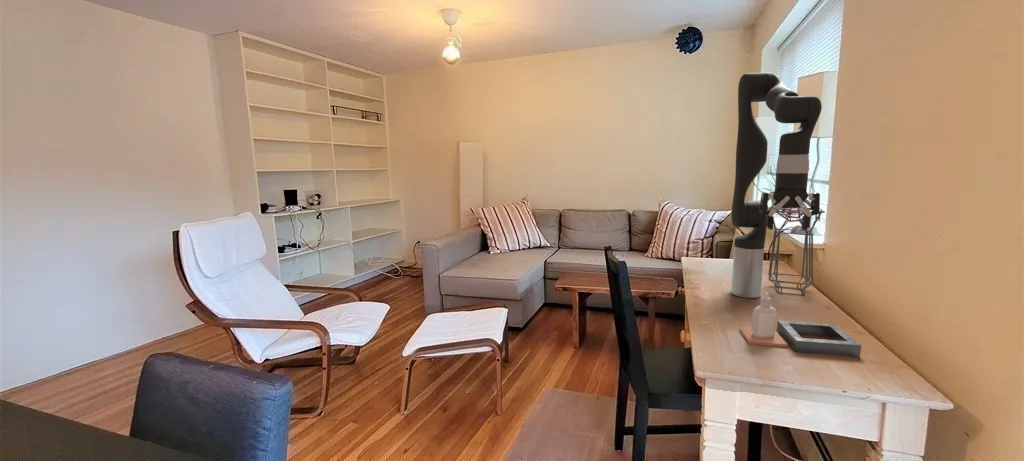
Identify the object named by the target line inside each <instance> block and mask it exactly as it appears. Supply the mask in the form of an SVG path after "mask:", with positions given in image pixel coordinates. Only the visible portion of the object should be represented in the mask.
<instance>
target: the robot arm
mask: <svg viewBox="0 0 1024 461" xmlns="http://www.w3.org/2000/svg"><path fill="white" fill-rule="evenodd" d="M757 102H758V103H759V102H760V103H762V102H763V103H764V102H765V104H766V107H767V108H768V109H769V110H770V111H772V112H773V113H774V118H775V121H777V123H781V124H800V125H799V127H798V128H797V129H796V130H794V131H791V132H785V133H783V134H781V135H780V139H779V147H778V157H777V162H776V169H775V179H774V180H775V184H774V191H773V193H772V192H765V191H763V192H761V196H760V200H746V199H745V198H746V195H747V192H748V190H749V187H750V186H751V184H752V183H753V181H754V180H755V179H756V177H757V176H758V175H759V174H760V172H761V170H762V169H763V168H764V167H765V165H766V162H767V161H768V160H767V159H768V158H767V157H768V139H767V137H766V135H765V133H764V131H763V129H761V127H760V126H759V124H758V122H757V121H756V119H755V116H754V114H753V109H752V103H757ZM737 103H738V104H737V110H738V112H737V113H738V125H737V135H736V136H737V140H736V149H735V175H734V176H735V177H734V190H733V198H732V204H731V205H732V206H731V219H730V220H731V224H732V225H733V227H735V228H753V229H752V230H751V231H750V232H748V233H746V234H742V235H740V236H739V235H738V236H736V237H735V238H734V241H733V242H734V243H733V244H734V245H733V260H732V273H731V274H732V275H731V288H730V292H731V294H732V295H734V296H737V297H740V298H746V299H755V298H759V297H760V298H761V293H762V292H761V291H762V279H763V270H764V256H765V255H764V254H765V245H766V236H767V229H768V230H772V231H774V230H773V229H774V225H773V221H774V222H775V219H774V218H775V217H774V215H775V214H777V213H776V212H777V211H778V210H780V208H781V207H782V208H784V209H790V208H792V209H797V208H798V209H799V210H800V211H801V212H800V213H803V215H802V216H801V219H802V225H801V230H808V229H810V226H811V218H812V216H813V217H814V216H815V215H817V216H818V215H819V211H820V209H821V207H820V204H821V203H820V201H821V200H820V199H821V194H820V193H819V192H815V191H813V192H807V191H808V190H807V189H808V182H809V180H808V179H809V171H810V158H809V157H810V148H811V139H812V135H813V132H814V130H815V127H816V124H817V122H818V120H819V117H820V115H821V112H822V108H823V107H822V101H821V99H820V98H819V97H818V96H817V95H799V93H798V92H796V91H794V90H792V89H791V88H788V87H786V85H785V84H784V82H783V81H782V80H781V79H780V77H779V76H778V75H777V74H775V73H774V72H768V71H767V72H750V73H748V72H747V73H744V74H742V75H741V76H740V79H739V82H738V88H737ZM771 199H773V200H774V202H773V203H772V204H771V206H770V209H769V205H768V203H769V201H770V200H771ZM806 199H807V200H809V201H810V202H811V207H810V208H811V210H810V211H809V209H808V208H809V207H808V205H807V204H806V203H804V201H805V200H806Z"/></svg>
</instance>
